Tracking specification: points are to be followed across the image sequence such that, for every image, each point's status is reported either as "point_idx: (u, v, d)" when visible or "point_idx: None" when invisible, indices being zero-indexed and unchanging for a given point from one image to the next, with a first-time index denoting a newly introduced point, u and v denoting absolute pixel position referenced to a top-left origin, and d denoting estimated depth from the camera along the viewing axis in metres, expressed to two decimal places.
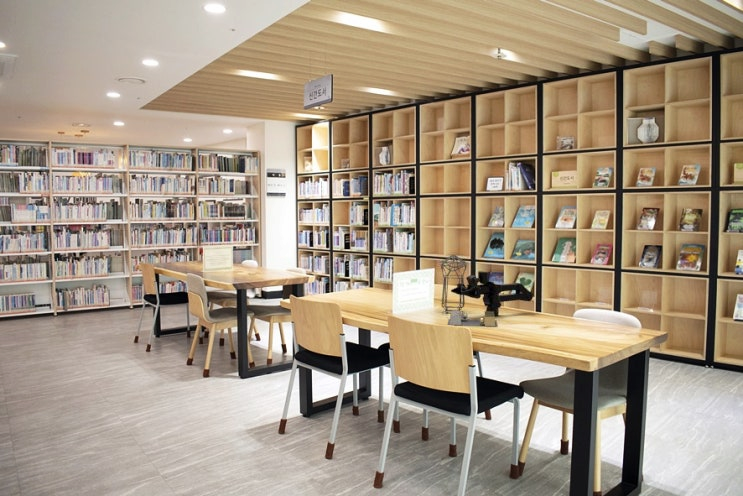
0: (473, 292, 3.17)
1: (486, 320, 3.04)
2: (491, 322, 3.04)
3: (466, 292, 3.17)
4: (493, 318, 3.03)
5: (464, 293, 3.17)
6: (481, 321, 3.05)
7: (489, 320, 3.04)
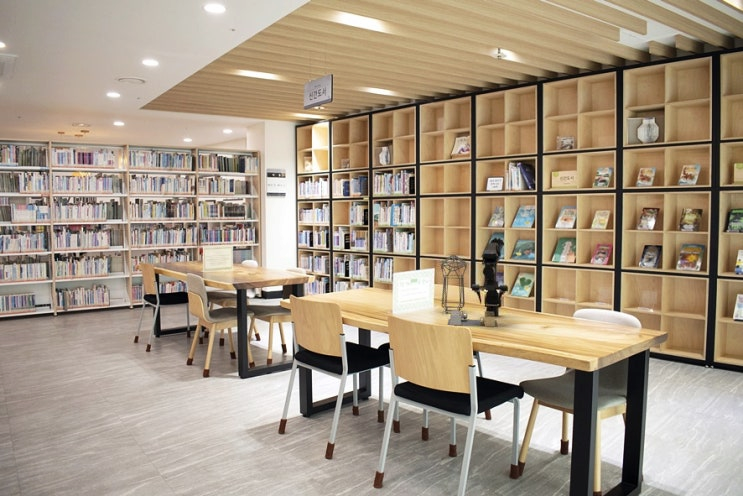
0: None
1: (486, 320, 3.04)
2: (491, 322, 3.04)
3: (500, 298, 3.10)
4: (493, 318, 3.03)
5: (499, 300, 3.10)
6: (481, 321, 3.05)
7: (489, 320, 3.04)
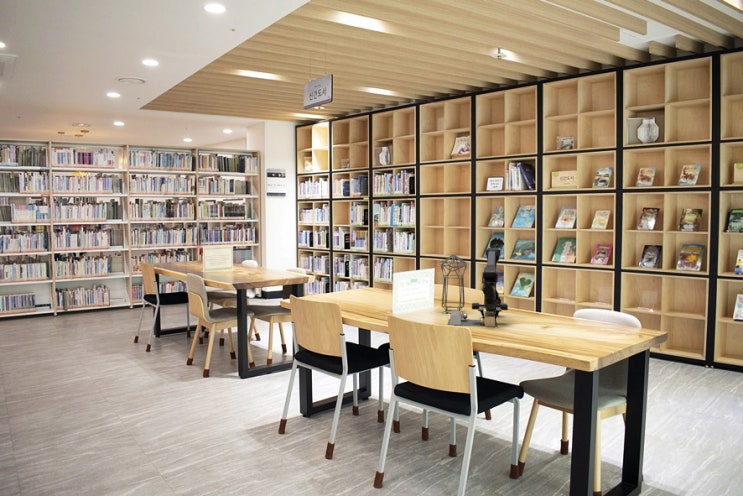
0: None
1: (486, 320, 3.04)
2: (491, 322, 3.04)
3: (496, 317, 3.11)
4: (493, 318, 3.03)
5: (495, 319, 3.11)
6: (481, 321, 3.05)
7: (489, 320, 3.04)
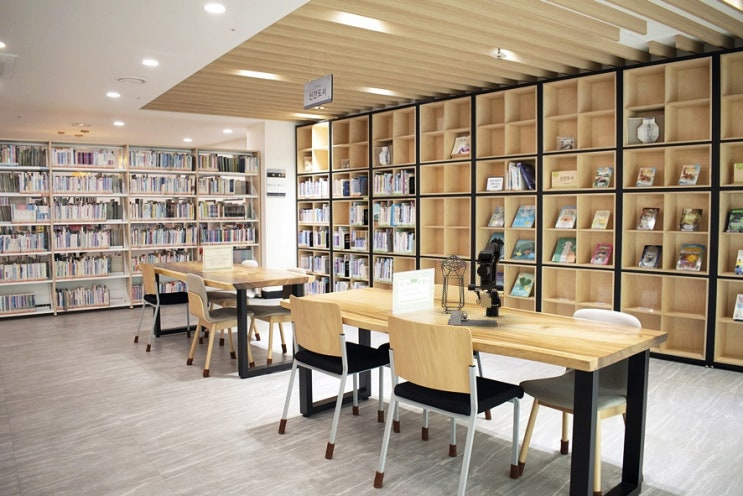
0: None
1: (482, 301, 3.03)
2: (487, 303, 3.03)
3: (492, 298, 3.10)
4: (489, 299, 3.03)
5: (492, 300, 3.11)
6: (477, 302, 3.04)
7: (485, 300, 3.03)
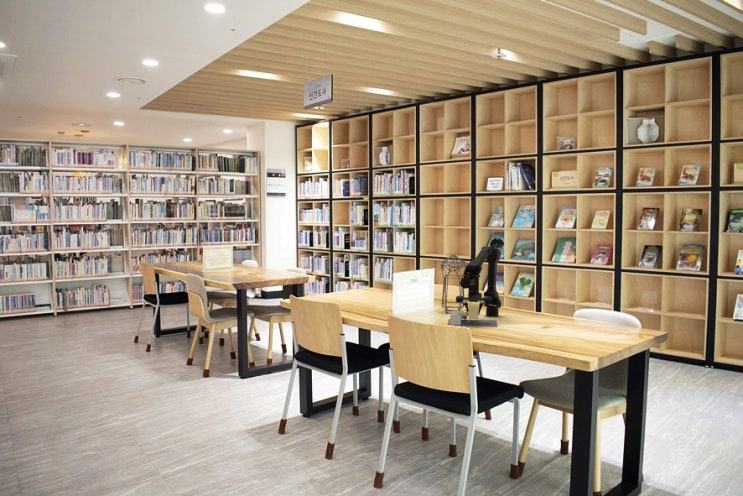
0: None
1: (470, 313, 3.05)
2: (475, 315, 3.05)
3: (480, 310, 3.12)
4: (477, 311, 3.04)
5: (479, 312, 3.13)
6: (465, 314, 3.06)
7: (473, 312, 3.05)
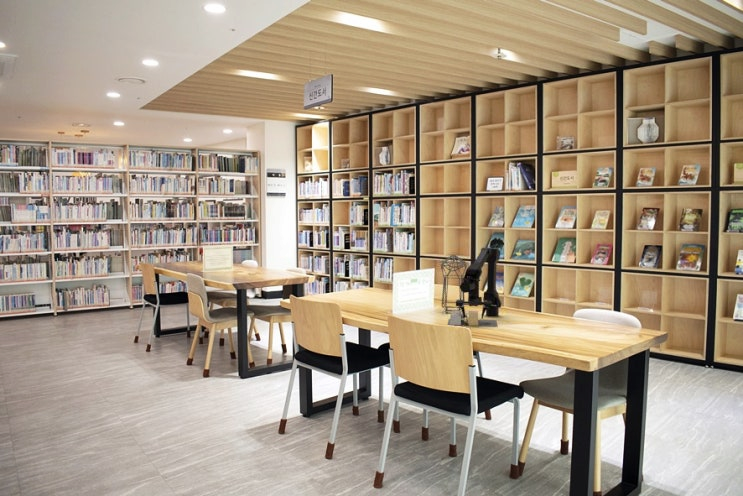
0: None
1: (469, 320, 3.05)
2: (474, 322, 3.05)
3: (483, 314, 3.12)
4: (476, 318, 3.05)
5: None
6: (465, 321, 3.06)
7: (472, 319, 3.05)
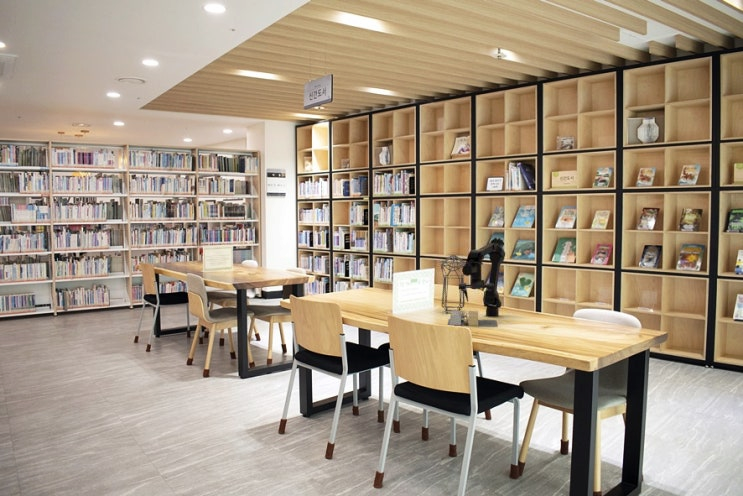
0: None
1: (469, 320, 3.05)
2: (474, 322, 3.05)
3: (486, 296, 3.16)
4: (476, 318, 3.05)
5: (486, 298, 3.16)
6: (465, 321, 3.06)
7: (472, 319, 3.05)
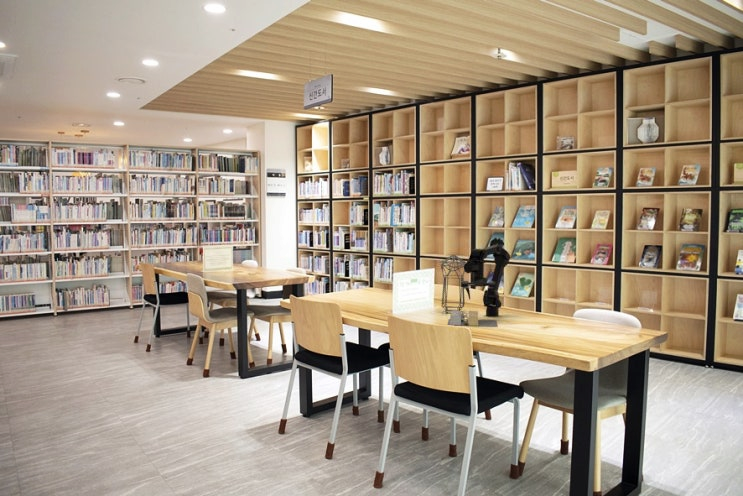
0: None
1: (469, 320, 3.05)
2: (474, 322, 3.05)
3: (488, 294, 3.20)
4: (476, 318, 3.05)
5: (488, 296, 3.21)
6: (465, 321, 3.06)
7: (472, 319, 3.05)
